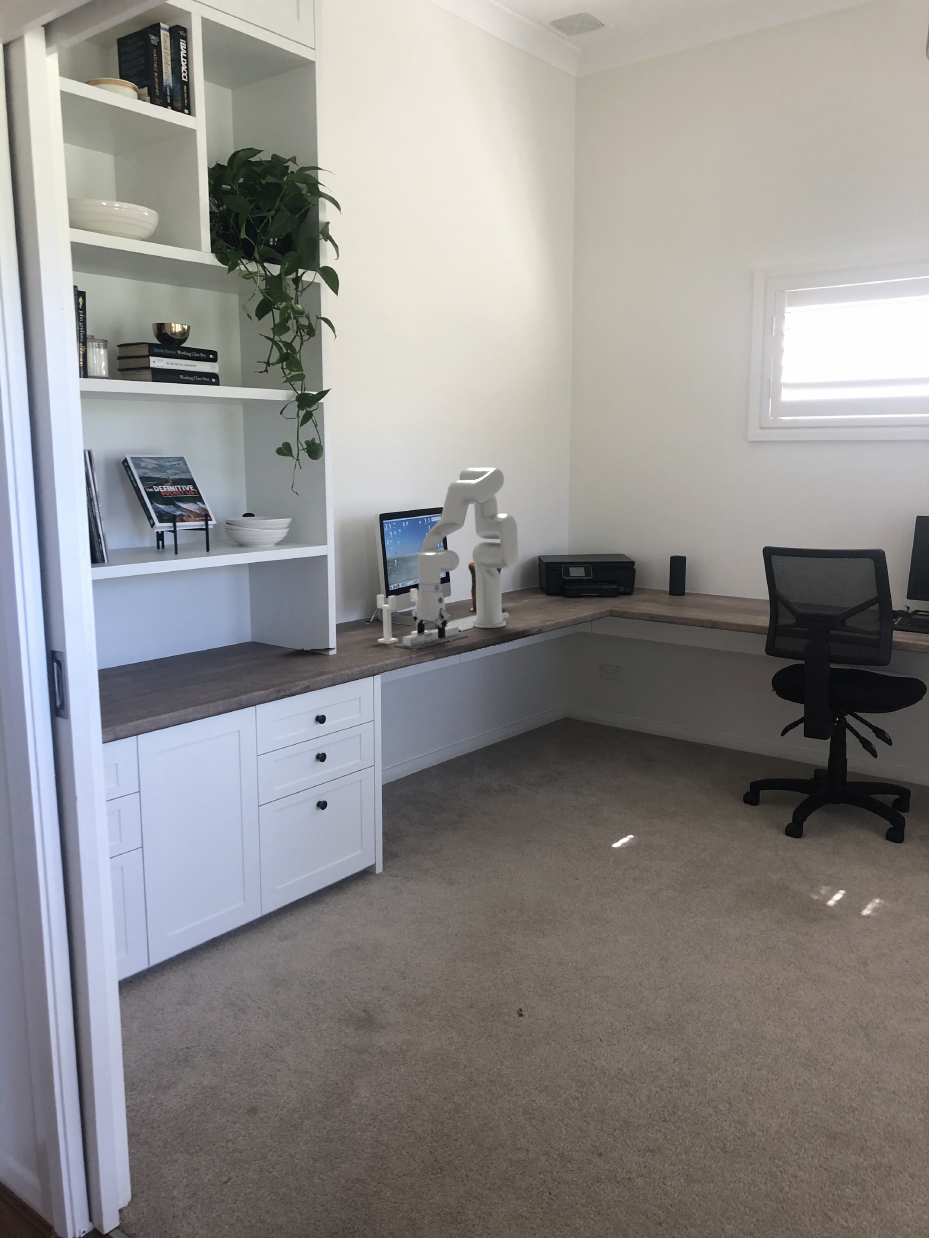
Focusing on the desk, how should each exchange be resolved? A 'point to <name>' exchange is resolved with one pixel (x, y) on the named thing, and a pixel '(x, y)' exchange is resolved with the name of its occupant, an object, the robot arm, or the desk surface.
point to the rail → (429, 636)
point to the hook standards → (387, 615)
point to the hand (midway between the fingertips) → (431, 636)
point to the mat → (431, 642)
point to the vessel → (473, 590)
